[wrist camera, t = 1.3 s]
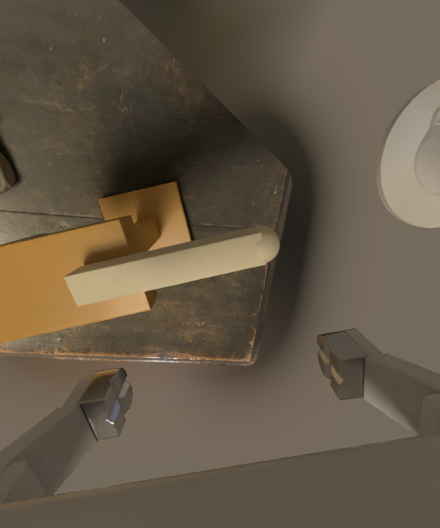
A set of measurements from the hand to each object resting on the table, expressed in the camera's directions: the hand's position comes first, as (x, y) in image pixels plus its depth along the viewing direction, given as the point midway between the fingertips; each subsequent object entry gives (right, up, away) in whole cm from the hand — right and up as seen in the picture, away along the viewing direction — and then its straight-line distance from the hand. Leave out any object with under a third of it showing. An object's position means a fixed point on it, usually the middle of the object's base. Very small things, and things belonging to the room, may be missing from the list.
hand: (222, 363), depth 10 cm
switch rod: (-3, +5, +9) cm, 11 cm away
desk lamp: (-15, +11, +35) cm, 40 cm away
